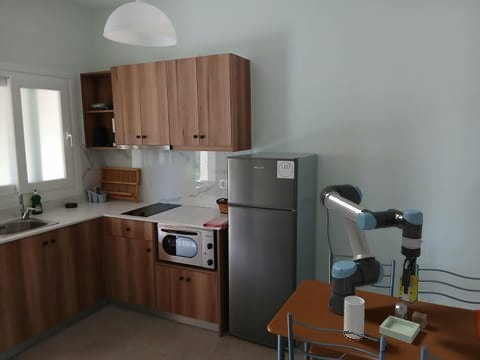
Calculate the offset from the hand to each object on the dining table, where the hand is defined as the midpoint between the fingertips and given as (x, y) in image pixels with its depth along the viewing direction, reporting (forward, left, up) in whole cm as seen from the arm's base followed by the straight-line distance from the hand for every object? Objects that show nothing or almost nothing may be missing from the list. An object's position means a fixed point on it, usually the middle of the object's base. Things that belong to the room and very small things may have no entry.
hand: (407, 297), depth 155 cm
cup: (-17, -17, -16) cm, 29 cm away
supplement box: (0, 0, -2) cm, 2 cm away
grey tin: (-5, +10, -16) cm, 20 cm away
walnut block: (+3, +10, -16) cm, 19 cm away
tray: (-2, -2, -16) cm, 16 cm away
